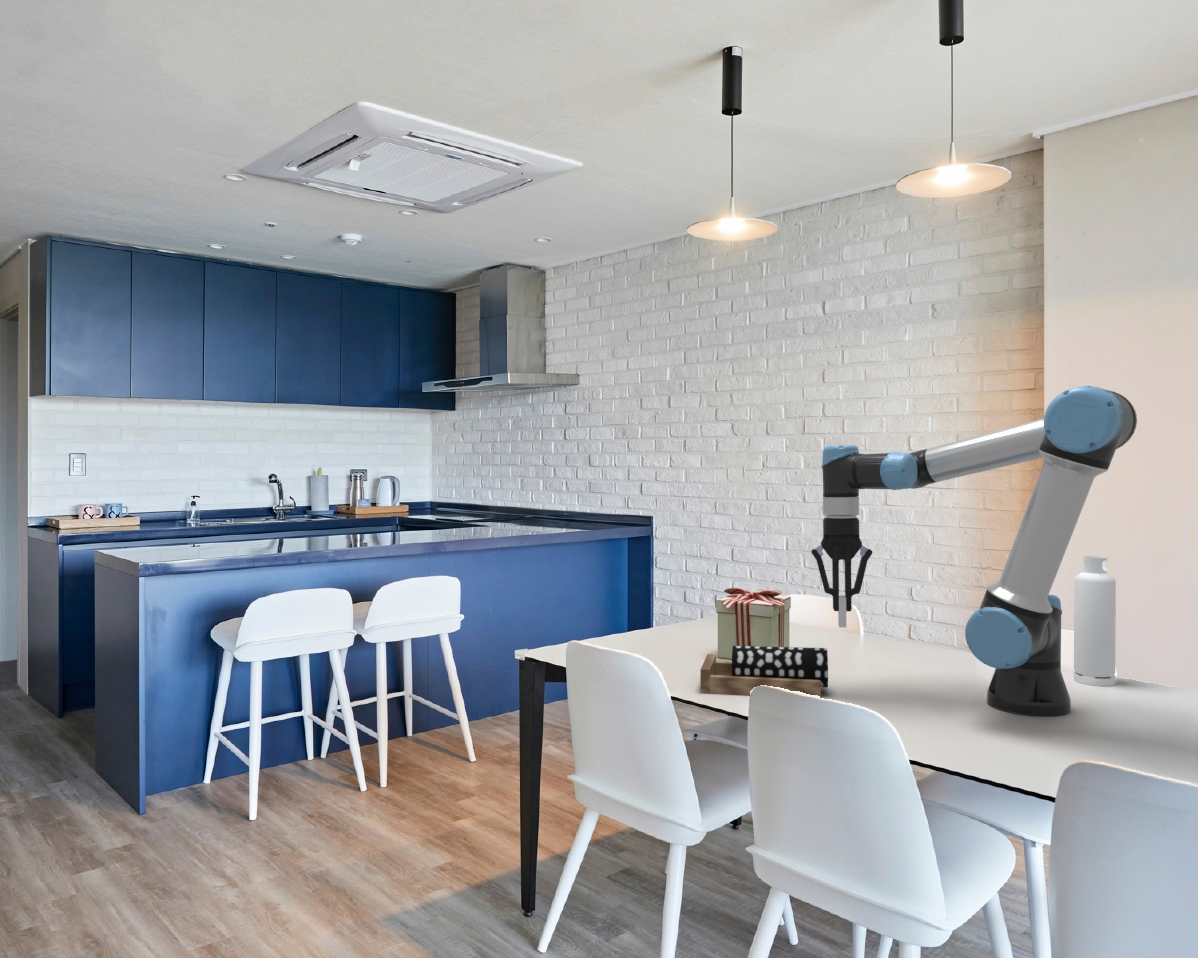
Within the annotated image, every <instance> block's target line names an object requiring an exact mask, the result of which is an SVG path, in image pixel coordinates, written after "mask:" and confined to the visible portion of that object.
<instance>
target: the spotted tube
mask: <svg viewBox="0 0 1198 958" xmlns="http://www.w3.org/2000/svg"><path fill="white" fill-rule="evenodd" d="M828 654H829V653H828V648H827V647H797V646H796V647H794V646H789V647H762V646H733V648H732V659H731V662H732V676H748V677H769V678H791V679H812V680H821V689H822V688H824V689H825V688H826V689H828V687H829V657H828Z"/></svg>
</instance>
